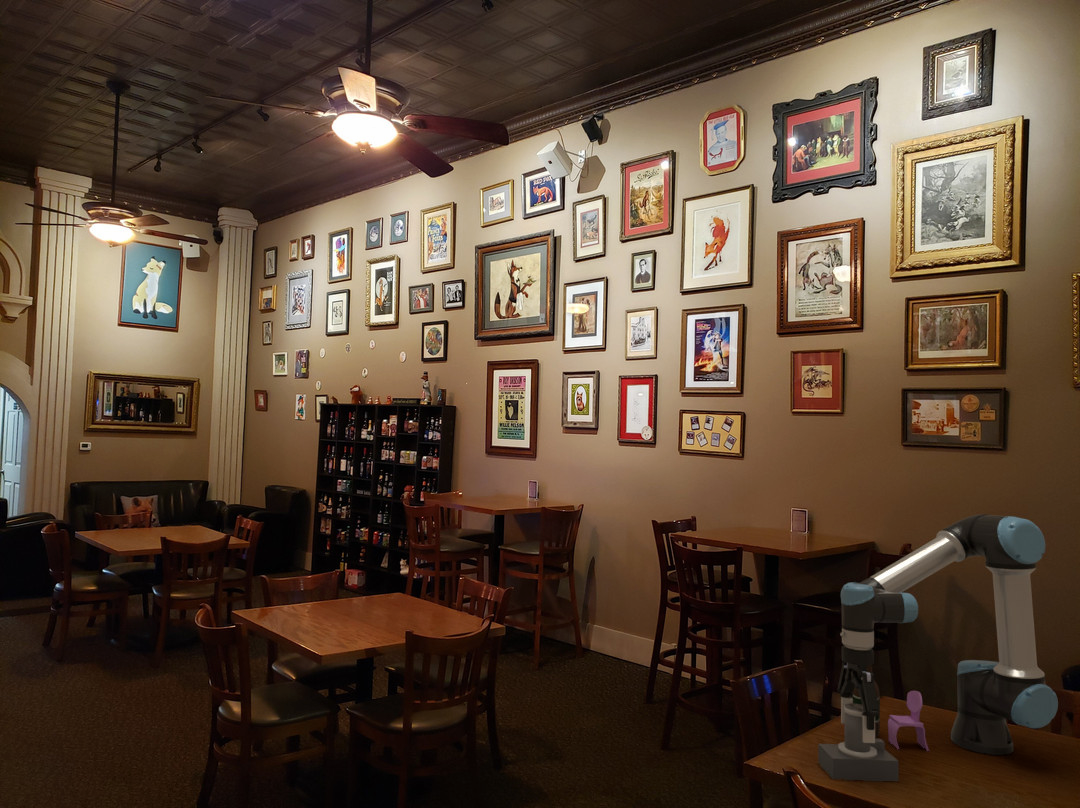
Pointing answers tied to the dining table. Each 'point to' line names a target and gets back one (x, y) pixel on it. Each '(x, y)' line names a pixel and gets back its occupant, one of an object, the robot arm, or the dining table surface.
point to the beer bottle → (877, 718)
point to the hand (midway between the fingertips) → (857, 732)
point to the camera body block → (858, 762)
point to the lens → (854, 728)
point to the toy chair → (908, 720)
